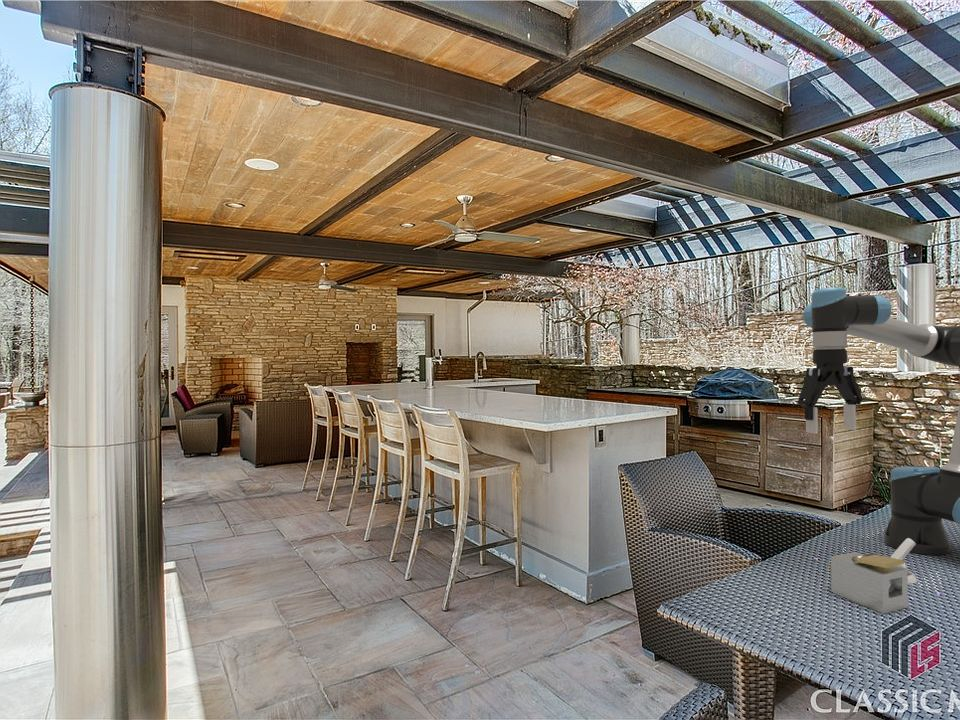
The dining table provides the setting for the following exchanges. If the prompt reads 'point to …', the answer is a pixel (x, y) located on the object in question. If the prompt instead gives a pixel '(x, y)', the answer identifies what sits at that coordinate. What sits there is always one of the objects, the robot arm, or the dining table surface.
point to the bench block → (869, 583)
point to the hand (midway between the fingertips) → (831, 431)
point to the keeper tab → (877, 560)
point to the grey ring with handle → (901, 553)
